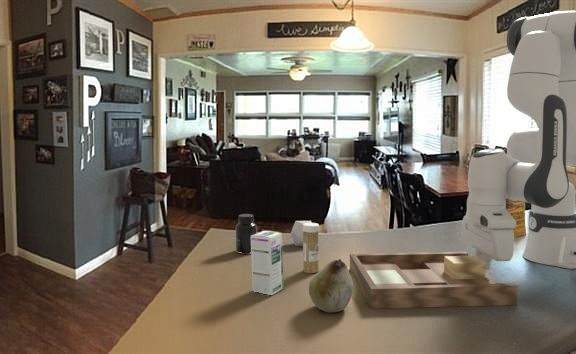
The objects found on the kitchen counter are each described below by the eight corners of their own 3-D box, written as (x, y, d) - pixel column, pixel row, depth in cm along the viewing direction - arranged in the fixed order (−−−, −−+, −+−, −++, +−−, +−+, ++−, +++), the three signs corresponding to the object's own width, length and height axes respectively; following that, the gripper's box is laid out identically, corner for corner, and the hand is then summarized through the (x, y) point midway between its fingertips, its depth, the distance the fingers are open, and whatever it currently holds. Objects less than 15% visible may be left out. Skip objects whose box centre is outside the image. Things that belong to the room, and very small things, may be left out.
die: (308, 251, 148) (323, 225, 150) (284, 237, 149) (299, 212, 151) (306, 254, 156) (321, 229, 158) (284, 240, 157) (299, 216, 159)
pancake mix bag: (485, 237, 161) (488, 159, 158) (515, 230, 171) (519, 156, 168) (502, 241, 156) (506, 160, 152) (533, 233, 166) (537, 157, 163)
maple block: (474, 270, 117) (474, 255, 117) (485, 278, 111) (485, 262, 111) (443, 271, 117) (444, 256, 117) (453, 279, 111) (453, 263, 111)
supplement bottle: (231, 253, 144) (231, 216, 143) (242, 247, 150) (241, 212, 149) (251, 255, 142) (250, 218, 140) (260, 249, 148) (260, 213, 147)
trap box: (465, 267, 128) (465, 251, 128) (516, 304, 101) (517, 285, 101) (349, 269, 127) (349, 254, 126) (371, 308, 100) (371, 289, 100)
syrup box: (271, 296, 108) (271, 237, 106) (251, 292, 111) (250, 234, 109) (283, 288, 113) (283, 232, 111) (263, 285, 116) (262, 229, 114)
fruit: (339, 322, 93) (340, 266, 92) (300, 312, 98) (300, 259, 97) (359, 305, 102) (359, 253, 101) (322, 297, 107) (322, 247, 106)
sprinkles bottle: (316, 274, 123) (316, 226, 122) (300, 273, 125) (300, 225, 123) (320, 269, 127) (320, 222, 126) (305, 268, 129) (304, 221, 127)
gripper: (455, 207, 123) (454, 256, 124) (493, 223, 102) (490, 282, 104) (478, 206, 123) (476, 256, 125) (520, 222, 103) (517, 281, 104)
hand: (483, 268), depth 114 cm, fingers closed
